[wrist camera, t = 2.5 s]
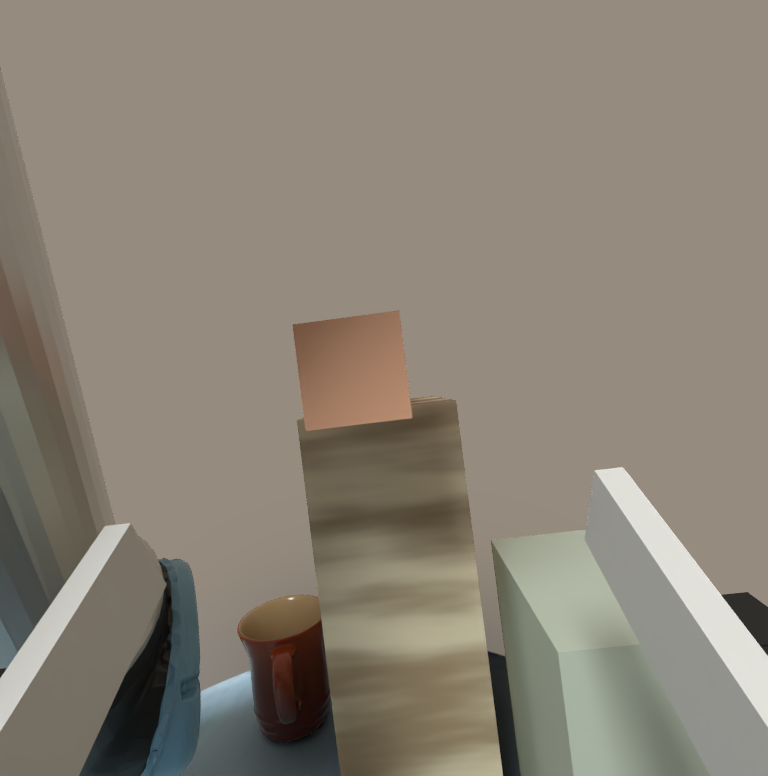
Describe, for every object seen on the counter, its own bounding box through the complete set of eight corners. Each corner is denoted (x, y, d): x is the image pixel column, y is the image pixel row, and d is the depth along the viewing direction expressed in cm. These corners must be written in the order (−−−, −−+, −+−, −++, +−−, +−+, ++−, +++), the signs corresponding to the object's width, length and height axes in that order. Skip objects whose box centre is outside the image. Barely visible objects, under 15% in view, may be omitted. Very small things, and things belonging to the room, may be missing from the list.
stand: (517, 885, 27) (456, 400, 27) (355, 898, 27) (296, 420, 27) (470, 685, 45) (433, 395, 45) (373, 695, 45) (338, 407, 45)
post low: (781, 1083, 18) (723, 635, 19) (614, 1094, 19) (558, 652, 19) (617, 784, 32) (584, 529, 33) (522, 792, 33) (491, 540, 33)
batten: (412, 418, 16) (399, 310, 16) (305, 430, 16) (292, 324, 16) (405, 399, 44) (400, 360, 44) (365, 404, 44) (361, 365, 44)
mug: (255, 700, 47) (243, 604, 47) (336, 680, 48) (325, 588, 48) (239, 801, 35) (223, 673, 35) (347, 770, 36) (332, 648, 37)
